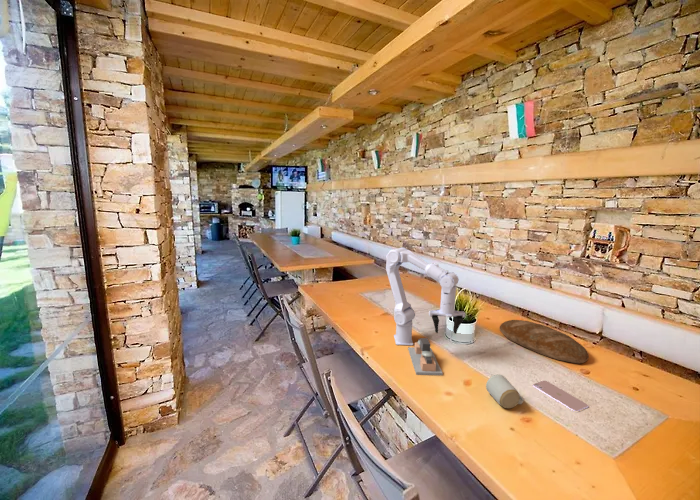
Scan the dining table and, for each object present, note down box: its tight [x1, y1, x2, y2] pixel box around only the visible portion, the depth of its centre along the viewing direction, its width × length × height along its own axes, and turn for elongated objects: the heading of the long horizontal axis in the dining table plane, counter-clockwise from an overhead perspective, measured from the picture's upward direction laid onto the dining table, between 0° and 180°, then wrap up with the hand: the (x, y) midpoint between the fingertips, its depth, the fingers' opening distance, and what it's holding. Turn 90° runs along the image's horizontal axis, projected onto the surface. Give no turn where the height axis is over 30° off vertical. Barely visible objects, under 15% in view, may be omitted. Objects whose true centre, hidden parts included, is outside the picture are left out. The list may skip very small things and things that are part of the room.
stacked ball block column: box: [417, 337, 432, 364], centre depth 121 cm, size 17×4×5 cm, turn 178°
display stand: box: [407, 341, 444, 376], centre depth 121 cm, size 19×10×5 cm, turn 178°
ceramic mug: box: [485, 374, 524, 409], centre depth 98 cm, size 11×8×8 cm
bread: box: [498, 319, 590, 364], centre depth 137 cm, size 22×37×8 cm, turn 29°
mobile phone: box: [532, 380, 589, 412], centre depth 102 cm, size 8×1×15 cm
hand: (445, 332), depth 125 cm, fingers open, 7 cm apart
